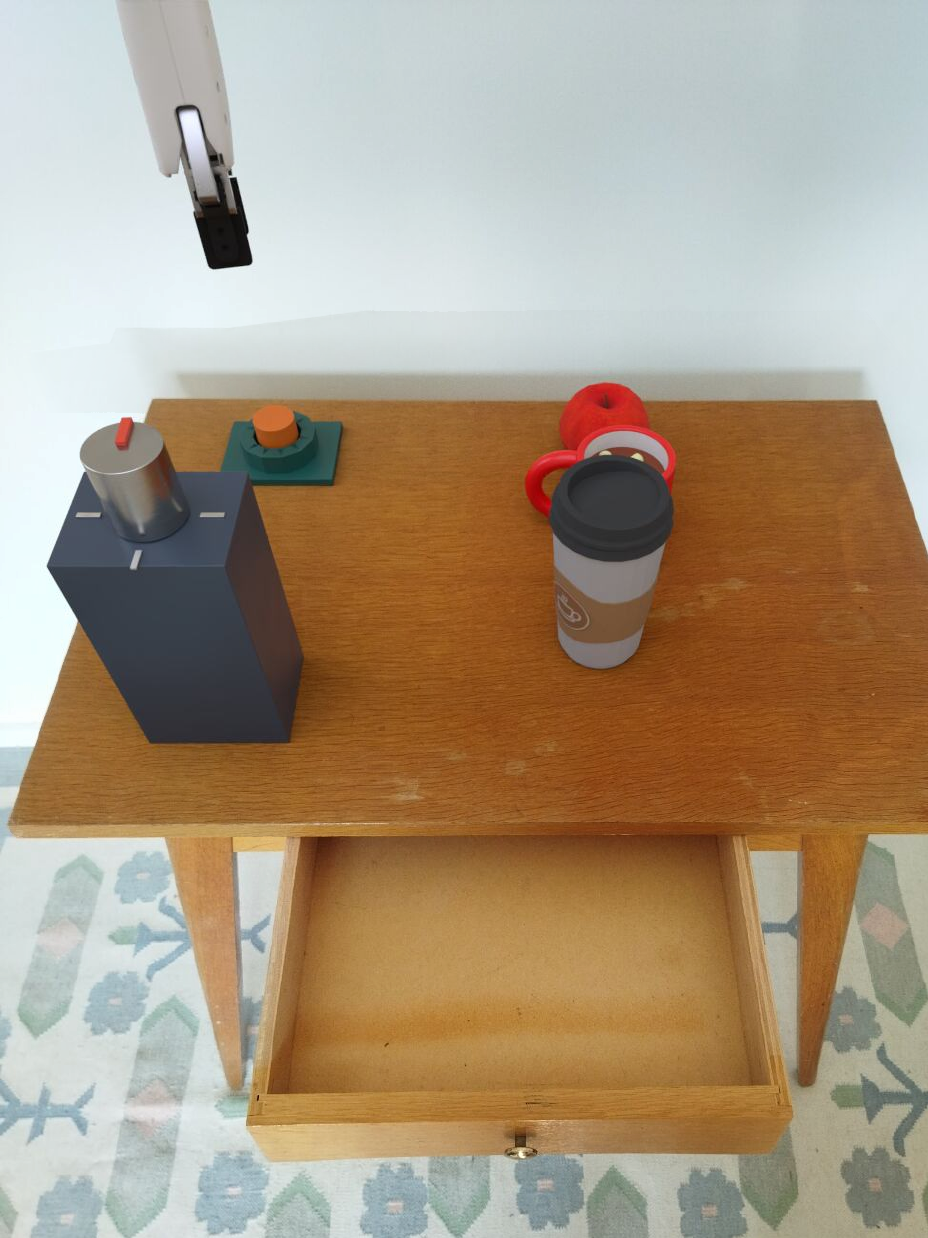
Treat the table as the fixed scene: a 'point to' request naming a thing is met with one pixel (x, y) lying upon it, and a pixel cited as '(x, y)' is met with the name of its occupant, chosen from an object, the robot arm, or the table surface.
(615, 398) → the apple
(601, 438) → the mug
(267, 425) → the button
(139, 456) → the dial
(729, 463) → the table surface
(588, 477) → the coffee cup
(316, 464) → the push button base
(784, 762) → the table surface
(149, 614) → the tall knob tower
